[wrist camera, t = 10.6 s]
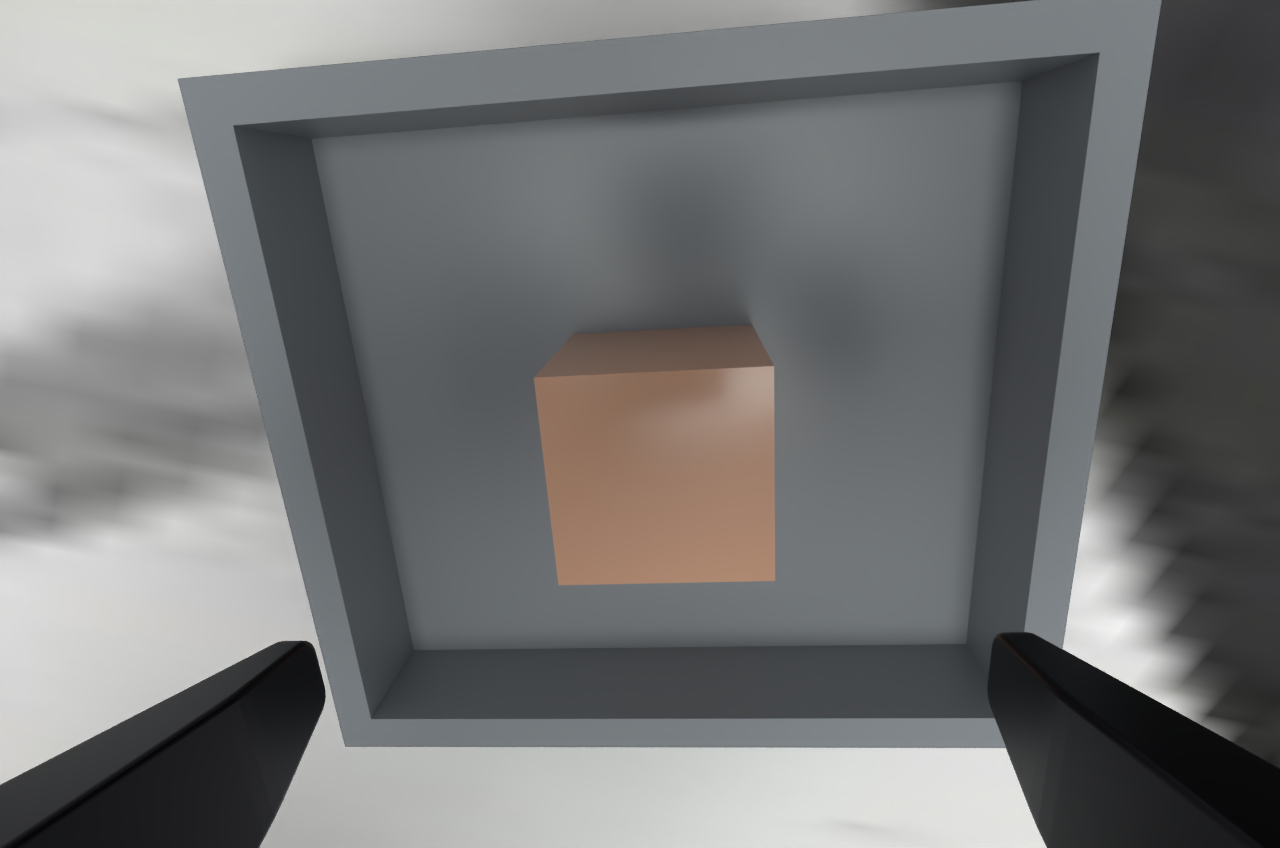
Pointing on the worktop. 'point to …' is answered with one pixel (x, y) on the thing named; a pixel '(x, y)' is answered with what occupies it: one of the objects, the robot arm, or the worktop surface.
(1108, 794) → the robot arm
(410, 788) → the worktop surface
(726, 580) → the brown block
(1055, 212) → the bin
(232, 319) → the worktop surface
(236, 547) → the worktop surface
